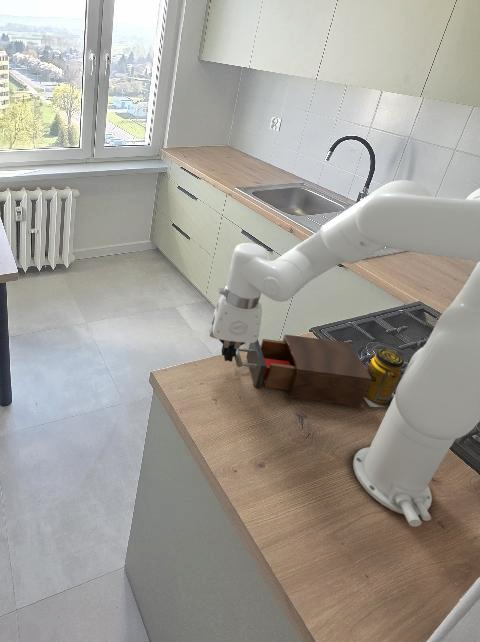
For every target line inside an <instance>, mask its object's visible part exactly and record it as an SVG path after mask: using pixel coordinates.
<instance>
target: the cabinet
mask: <svg viewBox="0 0 480 642" xmlns="http://www.w3.org/2000/svg"><path fill="white" fill-rule="evenodd" d="M282 341H284V342H286V343H287V346H288V348H289V351H290V353H291V356H292V358H293V360H294V363H295V365H296V368H297V371H296V374H295V377H294V380H293V384H292V387H291V390H286V393H287V396H288V398H289V399H290V400H299V401H305V402H313V403H320V404H327V405H335V406H336V405H337V406H342V407H349V408H357V409H360V408H361V406H362V403H363V401H364V400H365V399H364V397H365V394H366V392H367V390H368V387H369V385H370V383H371V380H372V378H371V376H370V375H369V373H368V371H367V368H366V366H365V364H364V363H363V361H362V360H361V358H360V356H359V355H358V352H357V351H356V350H355V349H354V347H353V345H352V344H351V342H350V341H349V342H348V341H341V340H333V339H332V340H331V339H324V338H317V337H309V336H300V335H291V334H284V335H283V338H282Z"/></svg>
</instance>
